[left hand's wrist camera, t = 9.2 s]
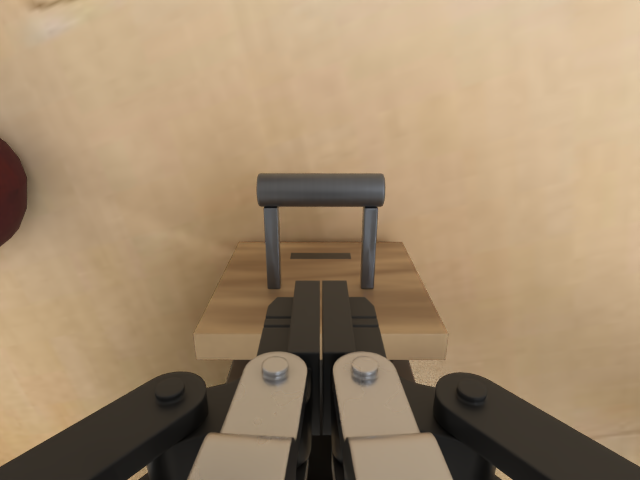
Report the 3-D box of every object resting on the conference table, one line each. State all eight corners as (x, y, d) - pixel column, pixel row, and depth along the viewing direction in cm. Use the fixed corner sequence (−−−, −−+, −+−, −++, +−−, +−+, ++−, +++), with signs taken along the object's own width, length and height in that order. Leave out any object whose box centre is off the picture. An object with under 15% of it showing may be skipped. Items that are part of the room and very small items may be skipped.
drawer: (232, 151, 23) (175, 198, 14) (409, 151, 23) (466, 198, 14) (257, 493, 32) (232, 653, 23) (383, 493, 32) (407, 653, 23)
